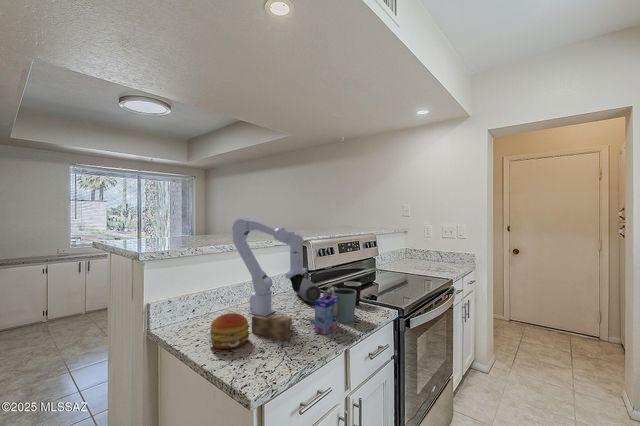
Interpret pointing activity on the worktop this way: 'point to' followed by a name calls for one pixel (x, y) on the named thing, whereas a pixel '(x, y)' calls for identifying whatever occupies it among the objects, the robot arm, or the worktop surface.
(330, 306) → the ink cartridge box
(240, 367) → the worktop surface
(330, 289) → the food container
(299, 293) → the bluetooth speaker
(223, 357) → the worktop surface
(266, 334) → the wall
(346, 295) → the grey green cup
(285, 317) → the block
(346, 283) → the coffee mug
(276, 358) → the worktop surface
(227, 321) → the burger
